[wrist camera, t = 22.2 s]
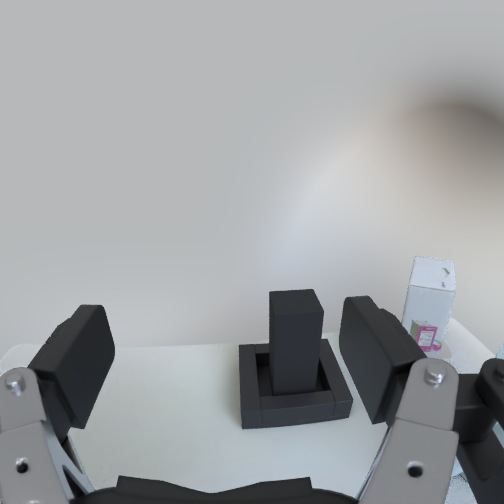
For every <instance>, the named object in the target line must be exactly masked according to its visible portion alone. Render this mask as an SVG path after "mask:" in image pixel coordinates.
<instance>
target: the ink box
mask: <svg viewBox="0 0 504 504" xmlns="http://www.w3.org/2000/svg"><path fill="white" fill-rule="evenodd" d="M455 293H456V286H455V274H454V262H453V261H451V260H445V259H435V258H428V257H421V256H415V259H414V263H413V267H412V272H411V276H410V281H409V286H408V291H407V297H406V302H405V307H404V312H403V317H402V322H401V324H402V327H405V329H406V330H407V331H408V334H410V335H411V336H412V338H413V339H414V340H415V341H416V343H417V344H418V345H419V346H420V348H421V349H422V350H423V352H424V353H425V354H426V356H427V357H428V358H438V355H439V352H440V349H441V346H442V342H443V339H444V336H445V332H446V329H447V325H448V321H449V317H450V313H451V309H452V305H453V301H454V297H455Z"/></svg>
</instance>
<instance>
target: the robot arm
mask: <svg viewBox="0 0 504 504" xmlns="http://www.w3.org/2000/svg"><path fill="white" fill-rule="evenodd" d="M339 348H340V352H341V355H342V357H343V360H344V362H345V364H346V366H347V368H348V370H349V373H350V375H351V377H352V379H353V382H354V384H355V386H356V388H357V390H358V393H359V395H360V397H361V399H362V402H363V404H364V406H365V408H366V411H367V413H368V415H369V418H370V420H371V422H372V425H373V424H377V423H382V422H386V423H387V426H388V429H387V431H386V433H385V436H384V438H383V441H382V443H381V445H380V448H379V450H378V452H377V455H376V457H375V459H374V461H373V463H372V466H371V468H370V470H369V472H368V474H367V476H366V478H365V480H364V482H363V484H362V486H361V488H360V490H359V491H358V493H357V495H356V497H355V498H353V497H351V496H348V495H345V494H342V493H339V492H334V491H331V490H324V489H315V488H312V485H311V480H310V477H305V478H297V479H289V480H279V481H267V482H259V483H256V484H252V485H248V486H244V487H240V488H236V489H232V490H227V491H222V492H218V493H205V492H201V491H197V490H193V489H189V488H186V487H182V486H178V485H175V484H172V483H168V482H165V481H160V480H150V479H141V478H134V477H127V476H120V475H119V477H118V482H117V486H116V487H110V488H104V489H100V490H95V489H94V487H93V486H92V484H91V483H90V481H89V479H88V477H87V475H86V472H85V470H84V468H83V466H82V464H81V461H80V459H79V457H78V454H77V452H76V449H75V447H74V445H73V442H72V439H71V437H70V436H69V434H68V431H69V429H70V427H74V428H79V429H84V428H85V426H86V423H87V421H88V418H89V416H90V414H91V411H92V409H93V406H94V404H95V401H96V399H97V397H98V394H99V392H100V390H101V387H102V385H103V383H104V381H105V378H106V376H107V374H108V372H109V369H110V367H111V365H112V363H113V360H114V356H115V346H114V341H113V338H112V334H111V331H110V327H109V323H108V320H107V316H106V312H105V309H104V307H103V306H102V305H80V306H79V308H78V309H77V310H76V311H75V313H74V314H73V315H72V317H71V318H68V319H67V320H66V321H64V322H63V323H61V324H60V325H58V326H57V328H56V329H55V331H54V332H53V333H52V334H51V337H49V338H48V340H47V341H46V344H44V345H43V346H42V347H41V349H40V350H39V351H38V353H37V354H36V356H35V357H34V358H33V360H32V361H31V363H30V364H29V365H28V367H27V368H24V367H20V368H14V369H12V370H9V371H7V372H6V373H4V374H3V375H2V376H1V377H0V502H1V504H444V502H445V499H446V495H447V491H448V487H449V483H450V479H451V475H452V471H453V466H454V461H455V456H456V457H457V459H458V461H459V463H460V466H461V468H462V470H463V472H464V474H465V476H466V478H467V481H468V483H469V485H470V487H471V490H472V492H473V494H474V496H475V499H476V501H477V503H478V504H504V448H503V446H502V445H501V443H500V441H499V439H498V438H497V436H496V434H495V433H494V431H493V430H492V429H493V427H494V426H495V424H496V423H497V421H498V423H499V424H500V426H501V428H502V429H503V431H504V359H500V358H492V359H489V360H487V361H485V362H484V364H483V365H482V368H481V370H480V372H479V374H458V373H457V371H456V369H455V368H454V367H453V366H452V365H451V364H449V363H448V362H446V361H444V360H441V359H437V358H428V357H427V356H426V354H425V353H424V352H423V350H422V349H421V348H420V346H419V345H418V344H417V343H416V341H415V340H414V339H413V338H412V336H411V335H410V334H408V331H407V330H406V329H405V327H402V324H401V323H400V321H399V320H398V319H397V318H396V316H395V315H393V314H391V313H390V312H388V311H386V310H385V309H379V308H378V307H377V306H376V304H375V303H374V302H373V300H372V299H371V298H370V297H369V296H356V297H347V298H346V299H345V301H344V305H343V313H342V320H341V328H340V334H339Z"/></svg>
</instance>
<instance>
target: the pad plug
mask: <svg viewBox="0 0 504 504" xmlns="http://www.w3.org/2000/svg"><path fill="white" fill-rule="evenodd" d="M323 316H324V310H323V308H322V306H321V304H320V302H319V300H318V298H317V296H316V294H315V292H314V290H313V289H306V290H288V291H272V292H269V317H270V319H269V321H270V322H269V377H270V384H271V390H272V396H282V395H294V394H303V393H312V392H315V385H316V378H317V370H318V362H319V354H320V345H321V336H322V326H323Z"/></svg>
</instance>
